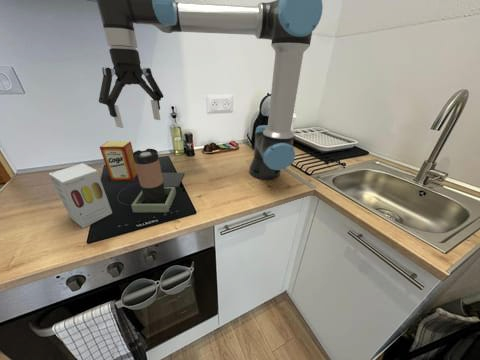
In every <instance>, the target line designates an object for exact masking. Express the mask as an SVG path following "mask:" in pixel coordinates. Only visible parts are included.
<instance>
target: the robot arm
mask: <svg viewBox="0 0 480 360" xmlns="http://www.w3.org/2000/svg"><path fill="white" fill-rule="evenodd" d="M96 3H97V7H98V11H99V15H100V18H101V22H102V28H103V31H104V35H105V38H106V43H107V45H108V47H110V48H109V50H108V51H109V55H110V60H111V63H112V64H113V68H110V67H107V66H105V67H104V66H103V67H102V71H101V72H102V80H101V81H102V82H101V86H100V93H99V98H98V103H99V104H103V105H106V106H107V108H108V111H109V115H110V117H112V118H114V122H115V125H116V126H115V127H117V128H120V129H122V128H124V125H123V121H122V116H121V113H120V109H119V105H116V102H117V100H118V98H119V96H120V94H121V93H122V90H123V88H124V87H126V85H129V86H130V85H139V86H140V87H141V88H142V89H143V91H144V92H145V93H146V94H147V95H148V96H149V98H151V100H150V103H151V108H152V114H153V115H152V116H153V119H154V120H157V121H161V115H160V110H161V105H160V101H161V100H162V99H163V98H164V94H163V92H162V90H161V89H160V87H159V85H158V83H157V82H156V81H157V80H155V78H154V76H153V73H152V70H151V68H149V67H143V68H142V66H141V58H140V54H139V51H138V50H137V48H138V47H139V46H138V42H137V38H136V37H137V36H136V31H135V28H134V24H138V25H139V24H141V25H152V26H154V27H156V28H157V29H158V30H159V31H161V32H162V33H165V34H171V33H174V32H175V33H200V34H201V33H203V34H223V35H226V34H228V35H244V36H245V35H248V36H249V35H250V36H252V35H253V36H255V38H256V39H257V40H258V39H262V40H268V41H269V40H270V41H271V45H270V46H271V47H272V49H273V51H274V54H275V55H274V63H273V74H272V83H271V92H270V101H269V109H268V110H269V111H268V112H269V113H268V119H267V125H266V124H265V125H263V124H262V125H257V127H256V129H255V135H254V136H255V137H254V138H255V140H254V148H253V149H254V150H253V151H254V152H253V153H254V154H253V159H252V161H251V163H250V165H249V171H248V173H249V174H250V176H252V177H254V178H256V179H260V180H263V181H264V180H267V181H269V180H275V179H277V178H279V177H280V175H281V170H284V169H286V168H287V167H290V166H291V165H292V164H293V162H294V161H295V158H296V152H295V151H296V150H295V148H294V147H293V144H294V139H295V134H294V132H293V131H292V124H293V119H294V111H295V107H296V100H297V94H298V89H299V88H298V87H299V82H300V76H301V70H302V64H303V57H304V53H305V52H306V51H307V50H308V49H309V48H310V46H311V42H312V41H311V40H312V37H313V31H315V29H316V28H317V27H318V24H319V23H320V21H321V18H322V16H323V9H324V8H323V6H324V5H323V0H273V1H268V2H259V3H258V4H257V5H256V6H254V5H253V6H252V5H238V4H237V5H235V4H234V5H233V4H217V3H215V4H214V3H200V2H199V3H198V2H197V3H196V2H181V1H180V2H176V0H96ZM114 75H115V77H117V78H116V79H115V82H114V83H115V84H114V86H113V87H112V81H113V77H114ZM143 76H144V77H145V79H146V80H145V79H144V78H143ZM146 81H147V82H146ZM147 83H148V84H147ZM111 88H112V89H111Z"/></svg>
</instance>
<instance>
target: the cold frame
mask: <svg viewBox="0 0 480 360" xmlns="http://www.w3.org/2000/svg"><path fill="white" fill-rule="evenodd" d="M164 189H165V196H167V195H168V196H167V197H166V202H165V204H146V203H143V202H145V199H144V196H143V193H142V190H141V191H140V192H139V194H138V195H137V196H136V198H135V199H134V201H133V202H132V203H131V209H132V213H169V211H170V209H171V207H172V204H173V201H174V200H175V197H176V195H177V190H176V187H164ZM170 206H171V207H170ZM169 208H170V209H169Z"/></svg>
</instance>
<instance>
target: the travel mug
mask: <svg viewBox="0 0 480 360" xmlns="http://www.w3.org/2000/svg"><path fill="white" fill-rule="evenodd" d="M133 158H134V162H135V166H136V170H137V174H138V175H137V178H138V182H139V186H140V188H141V191H142V193H143V196H144V204H164V203H165V202H166V200H167V197H166V196H167V195H165V189H164V183H163V177H162V173H163V172H162V169H161V168H162V167H161V164H160V163H161V162H160V158H159V153H158V150H156V149H154V148H146V149H145V150H139V149H137V150H136V151H133Z"/></svg>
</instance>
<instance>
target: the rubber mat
mask: <svg viewBox="0 0 480 360" xmlns="http://www.w3.org/2000/svg"><path fill="white" fill-rule="evenodd" d="M184 175H185V172H162V177H163V183H164V187H175V188H179V187H180V184H181V183H182V180H183V178H184Z"/></svg>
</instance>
